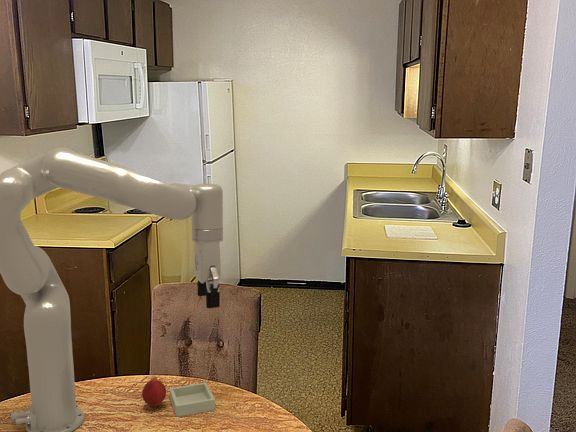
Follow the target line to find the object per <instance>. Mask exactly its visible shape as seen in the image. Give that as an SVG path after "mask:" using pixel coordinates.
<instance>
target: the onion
mask: <svg viewBox="0 0 576 432" xmlns="http://www.w3.org/2000/svg"><path fill="white" fill-rule="evenodd" d="M141 396H142V397H141V398H142V399H143V401H144V403H145V404H147V405H148V406H151V407H153V408H157V407H158V406H159V405H161V403H163V402H164V400H165V399H166V396H167V388H166V386H165V384H164V383H163V382H162V381H160V380H158V377H157V376H152V377H151V379H150V380H149V381H147V382H146V383H145V384H144V386H143V388H142V394H141Z"/></svg>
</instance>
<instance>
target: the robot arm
mask: <svg viewBox="0 0 576 432" xmlns="http://www.w3.org/2000/svg"><path fill="white" fill-rule="evenodd" d="M58 188H60V189H64V190H68V191H71V192H75V193H78V194H83V195H87V196H91V197H94V198H97V199H101V200H105V201H108V202H111V203H114V204H116V205H117V204H118V205H121V206H124V207H128V208H132V209H135V210H139V211H140V212H143V213H148V214H151V215H155V216H157V217H158V216H159V217H163V218H167V219H170V220H174V221H183V220H187V219H189V218H190V217H191V242H193V243H194V247H193V275H194V276H195V278H196V279H197V282H196V283H197V296H198V297H205V305H206V306H205V307H206V308H207V309H214V308H220V307H221V306H220V300H221V299H220V297H221V295H220V292H221V291H220V284H219V282H220V280H221V276H222V274H221V273H222V272H221V271H222V270H221V269H222V268H221V247H220V243H221V242H223V241H224V212H223V210H224V207H223V206H224V205H223V204H224V202H223V201H224V199H223V198H224V196H223V195H224V194H223V191H224V190H223V188H222V186H221V185H219V184H215V183H199V184H187V183H186V184H185V183H175V182H174V183H167V182H166V183H165V182H162V181H161V180H159V181H158V180H156V179H153V178H150V177H147V176H144V175H142V174H140V173H138V172H136V171H134V170H132V169H130V168H129V167H126V166H124V165H120V164H118V163H113V162H109V161H107V160H103V159H99V158H96V157H93V156H90V155H86V154H83V153H80V152H76V151H74V150H72V149H70V148H68V147H61V146H60V147H55V148H53V149H51V150H48V151H47V152H45V153H42V154H40V155H38V156H36V157H34V158H32V159H29V160H26V161H24V162H22V163H19V164H18V165H15V166H12V167H10V168H8V169H5V170H4V171H2V172H0V275H1V278H2V280H3V281H4V283H5V285H6V287H7V288H8V289H9V290H10V291H11V292H12V293H15V294H16V295H19V296H20V297H21V298H22V300H23V303H24V304H25V309H24V314H23V315H24V316H23V330H24V338H25V345H26V355H27V356H26V357H27V366H28V375H29V389H30V391H29V392H30V402H31V404H30V408H27V409H25V410H24V411H23V410H22V411H15V412H11V413H10V421H11V422H15V425H16V426H19V425H22V424H25V431H26V432H73V431H75V430H76V429H78V428H79V427H80V426H81V425H82V424H83V422H84V419H85V418H84V417H85V416H84V412H83V411H82V409H80V408H78V407H77V403H76V401H77V400H76V384H75V371H74V356H73V354H74V353H73V342H72V327H71V326H72V324H71V323H72V319H71V317H72V316H71V303H70V297H69V294H68V293H69V292H67V289H66V287H65V285H64V284H63V281H62V280H61V278H60V276H59V274H58V271H57V270H56V268H55V265H54V264H53V262H52V260H51V258H50V257H49V255H48V254H47V253H46V251H45V250H44V249H43V248H41V247H39V246H38V245H35V244H34V242H33V241H32V238H31V237H30V235H29V232H28V230H27V229H26V227H25V226H24V224H23V221H22V219H21V215H22V212H23V210H24V209H26V208H27V206H29V204H30V203H31V201H32V200H34V199H36V198H39V197H40V196H43V195H45V194H47V193H49V192H52V191H54V190H56V189H58Z"/></svg>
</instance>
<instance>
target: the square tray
mask: <svg viewBox="0 0 576 432" xmlns="http://www.w3.org/2000/svg"><path fill="white" fill-rule="evenodd" d="M169 399H170V403H171V406H172V408H173V411H174V414H175V417H176V418H179V417H184V416H188V415H189V416H190V415H194V414H201V413H205V412H211V411H216V398H215V396H214V395H213V392H212V390H211V389H210V386H209V385H208V382H200V383H193V384H188V385H183V386H177V387H169Z"/></svg>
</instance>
